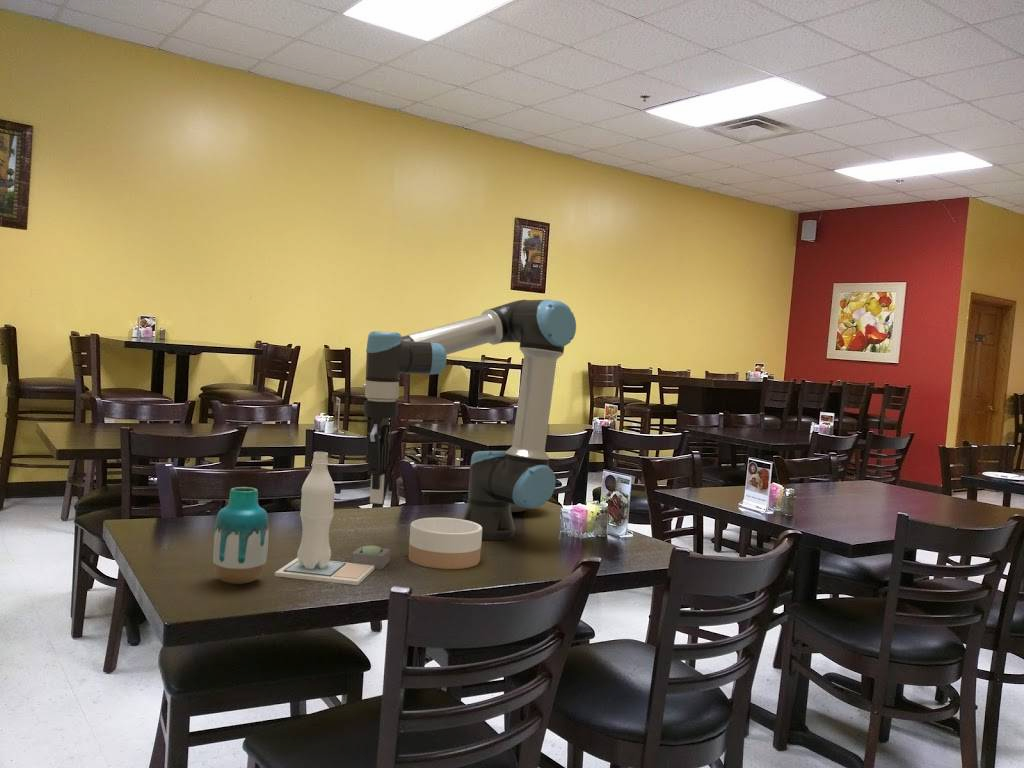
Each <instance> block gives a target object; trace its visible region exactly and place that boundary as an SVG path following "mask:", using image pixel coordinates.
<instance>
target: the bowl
mask: <svg viewBox="0 0 1024 768" xmlns="http://www.w3.org/2000/svg"><path fill="white" fill-rule="evenodd" d="M409 525H410V527H409V529H410V531H409V541H408V542H409V543H408V544H409V546H408V559H409V561H410V562H412V563H414V564H416V565H419V566H422V567H425V568H426V567H427V568H432V569H439V570H441V569H442V570H458V569H468V568H473V567H475V566H477V565H479V564H480V561H481V551H482V526H481V525H479V524H477V523H475V522H472V521H468V520H462V518H454V517H424V518H418V519H415V520H413V521H412V522H410V524H409Z"/></svg>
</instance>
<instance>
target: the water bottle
mask: <svg viewBox="0 0 1024 768" xmlns="http://www.w3.org/2000/svg"><path fill="white" fill-rule="evenodd" d="M328 455H329V453H328V452H326V451H314V452H313V455H312V456H313V459H312V461H311V464H312V467H311V470H310V471H309V474H308V475H307V477H306V478H305V480H304V482H303V484H302V487H301V499H300V500H301V501H300V513H299V515H300V519H301V526H302V527H301V528H302V530H301V531H302V535H301V540H300V544H299V547H298V550H297V552H296V553H297V557H298V561H299V564H300V566H301V567H304V566H305V568H307V569H314V567H315V565H316V564H317V565H318V567H319V568H320V569H323V568H325V567H326V566H327V564H328V562H329V561H331V556H332V549H331V547H330V539H329V538H330V536H329V535H330V528H331V523H332V521H333V518H334V516H335V515H334V505H335V504H334V503H335V493H336V488H335V487H336V486H335V484H334V482H333V479H332V477H331V474H330V472H329V470H328V469H329V468H328V465H329V459H328V457H329V456H328ZM297 557H296V558H297Z"/></svg>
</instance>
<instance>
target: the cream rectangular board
mask: <svg viewBox="0 0 1024 768" xmlns="http://www.w3.org/2000/svg"><path fill="white" fill-rule="evenodd" d="M374 570H376V569H375V565H366V564H356V563H351V562H346V561H336V560H329V562H328V564H327V566H326V567H325V568H323V569H320V568H319V567H318V565H317V564H316V565H315V567H314V569H307V568H305V566H304V567H301V566H300V564H299V561H298V557H296V558H295V559H293V560H291V561H290V562H288V563H286V565H284V566H283V567H280V568H279V569H277V571H275V572H274V577H280V578H288V579H297V580H298V579H299V580H307V581H316V582H324V583H325V582H327V583H332V584H333V583H335V584H343V585H344V584H345V585H353V586H358V585H359V584H360V583H362V582H363V580H365V579H366V578H367V577H368V576H369V575H370V574H371V573H372V572H373V571H374Z"/></svg>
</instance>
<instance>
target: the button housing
mask: <svg viewBox="0 0 1024 768" xmlns="http://www.w3.org/2000/svg"><path fill="white" fill-rule="evenodd" d="M364 546H365V545H361V546H359V547H358V548H357V549H355V550H354V551H353V552H352V553H351V559H350V560H351V561H350V563H356V564H366V565H375V569H374V570H379V571H381V570H383V569H384V568H385V567H386V566H387V565H388V564H389V563H390V561H391V560H390V559H391V549H390V548H384V547H383V548H382V547H380V554H379V555H377V554H367V553H362V551H363V547H364Z"/></svg>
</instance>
